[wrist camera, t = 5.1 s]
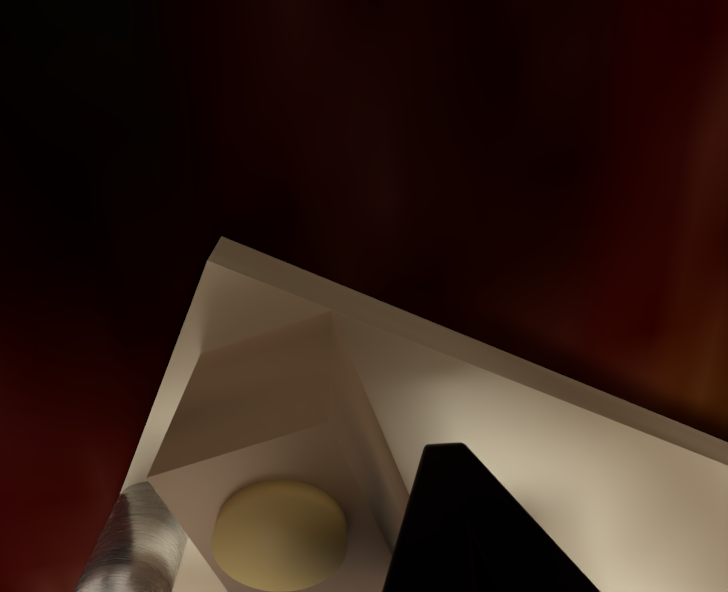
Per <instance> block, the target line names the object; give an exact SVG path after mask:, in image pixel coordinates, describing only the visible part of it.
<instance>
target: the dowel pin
mask: <svg viewBox="0 0 728 592" xmlns="http://www.w3.org/2000/svg"><path fill="white" fill-rule="evenodd" d="M187 540H188V535H187V534H186V532H185V531H184V530H183V528H182V527H181V525H180V524H179V523H178V521H177V520H176V518H175V517H174V516H173V514H172V513H171V512H170V510H169V509H168V507H167V506H166V505H165V503H164V502H163V500H162V499H161V498H160V496H159V495H158V493H157V492H156V491H155V489H154V488H153V486H152V485H151V484H150V482H149V481H146V482H140V483H136V484H134V485H131V486H129V487H127V488H126V489H125V490H124V491H123V492H122V493H121V494H120V495H119V497H118V499H117V501H116V503H115V505H114V507H113V510H112V512H111V514H110V516H109V518H108V520H107V522H106V524H105V526H104V529H103V531H102V533H101V535H100V537H99V539H98V541H97V543H96V545H95V547H94V550H93V552H92V554H91V556H90V558H89V560H88V562H87V564H86V566H85V569H84V571H83V573H82V575H81V577H80V579H79V581H78V583H77V585H76V588H75V590H74V592H172V591H173V588H174V584H175V581H176V578H177V574H178V571H179V567H180V564H181V561H182V557H183V554H184V551H185V547H186V544H187Z"/></svg>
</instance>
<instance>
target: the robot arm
mask: <svg viewBox="0 0 728 592" xmlns="http://www.w3.org/2000/svg"><path fill="white" fill-rule="evenodd" d="M382 592H601V591H600V590H599V589H598V588H597V587H596V586H595V585H594V584H593V583H592V582H591V581H590V579H589V578H588V577H587V576H586V575H585V574H584V573H583V572H582V571H581V570H580V569H579V567H578V566H577V565H576V564H575V563H574V562H573V561H572V560H571V559H570V558H569V557H568V555H567V554H566V553H565V552H564V551H563V550H562V549H561V548H560V547H559V546H558V545H557V544H556V542H555V541H554V540H553V539H552V538H551V537H550V536H549V535H548V534H547V533H546V532H545V530H544V529H543V528H542V527H541V526H540V525H539V524H538V523H537V522H536V521H535V520H534V518H533V517H532V516H531V515H530V514H529V513H528V512H527V511H526V510H525V509H524V508H523V506H522V505H521V504H520V503H519V502H518V501H517V500H516V499H515V498H514V497H513V496H512V494H511V493H510V492H509V491H508V490H507V489H506V488H505V487H504V486H503V485H502V484H501V482H500V481H499V480H498V479H497V478H496V477H495V476H494V475H493V474H492V473H491V472H490V471H489V469H488V468H487V467H486V466H485V465H484V464H483V463H482V462H481V461H480V460H479V459H478V457H477V456H476V455H475V454H474V453H473V452H472V451H471V450H470V449H469V448H468V447H467V445H465V444H464V443H462V442H454V443H436V444H426V445H425V446H424V448H423V451H422V455H421V458H420V462H419V465H418V469H417V472H416V476H415V479H414V483H413V486H412V489H411V493H410V496H409V500H408V503H407V507H406V510H405V514H404V517H403V520H402V524H401V527H400V531H399V534H398V538H397V541H396V545H395V548H394V552H393V555H392V558H391V562H390V565H389V569H388V572H387V576H386V579H385V583H384V586H383V590H382Z"/></svg>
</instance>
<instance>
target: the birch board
mask: <svg viewBox="0 0 728 592" xmlns="http://www.w3.org/2000/svg"><path fill="white" fill-rule="evenodd" d="M329 311H331V312H332V314H333V316H334V319H335V321H336V323H337V326H338V328H339V330H340V333H341V335H342V338H343V340H344V342H345V345H346V347H347V349H348V352H349V354H350V356H351V359H352V361H353V363H354V366H355V368H356V371H357V373H358V375H359V378H360V380H361V382H362V385H363V387H364V389H365V392H366V394H367V397H368V399H369V401H370V404H371V406H372V408H373V411H374V413H375V415H376V418H377V420H378V422H379V425H380V427H381V430H382V432H383V434H384V437H385V439H386V441H387V444H388V446H389V448H390V451H391V453H392V456H393V458H394V460H395V463H396V465H397V467H398V470H399V472H400V474H401V477H402V479H403V481H404V484H405V486H406V489H407V491H408V493H409V496H410V493H411V489H412V486H413V483H414V479H415V476H416V472H417V469H418V465H419V462H420V458H421V455H422V451H423V448H424V446H425V445H426V444H436V443H454V442H462V443H464V444H465V445H467V447H468V448H469V449H470V450H471V451H472V452H473V453H474V454H475V455H476V456H477V457H478V459H479V460H480V461H481V462H482V463H483V464H484V465H485V466H486V467H487V468H488V469H489V471H490V472H491V473H492V474H493V475H494V476H495V477H496V478H497V479H498V480H499V481H500V482H501V484H502V485H503V486H504V487H505V488H506V489H507V490H508V491H509V492H510V493H511V494H512V496H513V497H514V498H515V499H516V500H517V501H518V502H519V503H520V504H521V505H522V506H523V508H524V509H525V510H526V511H527V512H528V513H529V514H530V515H531V516H532V517H533V518H534V520H535V521H536V522H537V523H538V524H539V525H540V526H541V527H542V528H543V529H544V530H545V532H546V533H547V534H548V535H549V536H550V537H551V538H552V539H553V540H554V541H555V542H556V544H557V545H558V546H559V547H560V548H561V549H562V550H563V551H564V552H565V553H566V554H567V555H568V557H569V558H570V559H571V560H572V561H573V562H574V563H575V564H576V565H577V566H578V567H579V569H580V570H581V571H582V572H583V573H584V574H585V575H586V576H587V577H588V578H589V579H590V581H591V582H592V583H593V584H594V585H595V586H596V587H597V588H598V589H599V590H600V591H601V592H728V442H726V441H723V440H721V439H718V438H716V437H713V436H711V435H708V434H706V433H704V432H701V431H699V430H696V429H694V428H691V427H689V426H686V425H684V424H681V423H679V422H677V421H674V420H672V419H669V418H667V417H664V416H662V415H659V414H657V413H654V412H652V411H650V410H647V409H645V408H642V407H640V406H637V405H635V404H632V403H630V402H627V401H625V400H623V399H620V398H618V397H615V396H613V395H610V394H608V393H605V392H603V391H600V390H598V389H595V388H593V387H591V386H588V385H586V384H583V383H581V382H578V381H576V380H573V379H571V378H568V377H566V376H564V375H561V374H559V373H556V372H554V371H551V370H549V369H546V368H544V367H541V366H539V365H537V364H534V363H532V362H529V361H527V360H524V359H522V358H519V357H517V356H514V355H512V354H510V353H507V352H505V351H502V350H500V349H497V348H495V347H492V346H490V345H487V344H485V343H483V342H480V341H478V340H475V339H473V338H470V337H468V336H465V335H463V334H460V333H458V332H456V331H453V330H451V329H448V328H446V327H443V326H441V325H438V324H436V323H433V322H431V321H429V320H426V319H424V318H421V317H419V316H416V315H414V314H411V313H409V312H406V311H404V310H402V309H399V308H397V307H394V306H392V305H389V304H387V303H384V302H382V301H379V300H377V299H375V298H372V297H370V296H367V295H365V294H362V293H360V292H357V291H355V290H352V289H350V288H348V287H345V286H343V285H340V284H338V283H335V282H333V281H330V280H328V279H325V278H323V277H321V276H318V275H316V274H313V273H311V272H308V271H306V270H303V269H301V268H298V267H296V266H294V265H291V264H289V263H286V262H284V261H281V260H279V259H276V258H274V257H271V256H269V255H267V254H264V253H262V252H259V251H257V250H254V249H252V248H249V247H247V246H244V245H242V244H240V243H237V242H235V241H232V240H230V239H227V238H225V237H222V236H221V238H220V240H219V241H218V243H217V245H216V246H215V248H214V250H213V252H212V253H211V255H210V257H209V258H208V260H207V263H206V265H205V268H204V271H203V273H202V276H201V279H200V281H199V284H198V287H197V289H196V292H195V295H194V297H193V300H192V303H191V305H190V308H189V311H188V313H187V316H186V319H185V322H184V324H183V327H182V330H181V332H180V335H179V338H178V340H177V343H176V346H175V348H174V351H173V354H172V356H171V359H170V362H169V364H168V367H167V370H166V372H165V375H164V378H163V380H162V383H161V386H160V388H159V391H158V394H157V396H156V399H155V402H154V404H153V407H152V410H151V412H150V415H149V418H148V420H147V423H146V426H145V428H144V431H143V434H142V436H141V439H140V442H139V444H138V447H137V450H136V452H135V455H134V458H133V460H132V463H131V466H130V468H129V471H128V474H127V476H126V479H125V482H124V484H123V487H122V490H121V492H120V494H121V493H122V492H123V491H124V490H125V489H126V488H127V487H129V486H131V485H134V484H136V483H140V482H146V481H148V479H147V475H148V473H149V471H150V469H151V466H152V464H153V462H154V459H155V457H156V455H157V453H158V450H159V448H160V446H161V443H162V441H163V439H164V436H165V434H166V432H167V430H168V427H169V425H170V423H171V420H172V418H173V416H174V414H175V411H176V409H177V407H178V404H179V402H180V400H181V397H182V395H183V393H184V391H185V388H186V386H187V384H188V381H189V379H190V377H191V375H192V372H193V370H194V368H195V365H196V363H197V361H198V358H199V356H200V354H202V353H205V352H208V351H211V350H214V349H217V348H220V347H223V346H226V345H229V344H232V343H235V342H238V341H241V340H244V339H247V338H250V337H253V336H256V335H259V334H262V333H265V332H268V331H271V330H274V329H277V328H280V327H283V326H287V325H290V324H293V323H296V322H299V321H302V320H305V319H308V318H311V317H314V316H317V315H320V314H323V313H326V312H329ZM172 592H228V591H227V590H226V588H225V587H224V586H223V584H222V583H221V581H220V580H219V579H218V577H217V576H216V574H215V573H214V572H213V570H212V569H211V567H210V566H209V565H208V563H207V562H206V560H205V559H204V558H203V556H202V555H201V553H200V552H199V551H198V549H197V548H196V546H195V545H194V544H193V542H192V541H191V539H190V538H189V537H188V540H187V544H186V547H185V551H184V554H183V557H182V561H181V564H180V567H179V571H178V574H177V578H176V581H175V584H174V588H173V591H172Z"/></svg>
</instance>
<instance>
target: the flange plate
mask: <svg viewBox="0 0 728 592" xmlns="http://www.w3.org/2000/svg"><path fill="white" fill-rule="evenodd" d="M147 479H148V481H149V482H150V484H151V485H152V486H153V488H154V489H155V491H156V492H157V493H158V495H159V496H160V498H161V499H162V500H163V502H164V503H165V505H166V506H167V507H168V509H169V510H170V512H171V513H172V514H173V516H174V517H175V518H176V520H177V521H178V523H179V524H180V525H181V527H182V528H183V530H184V531H185V532H186V534H187V535H188V537H189V538H190V539H191V541H192V542H193V544H194V545H195V546H196V548H197V549H198V551H199V552H200V553H201V555H202V556H203V558H204V559H205V560H206V562H207V563H208V565H209V566H210V567H211V569H212V570H213V572H214V573H215V574H216V576H217V577H218V579H219V580H220V581H221V583H222V584H223V586H224V587H225V588H226V590H227V591H228V592H382V590H383V586H384V583H385V579H386V576H387V572H388V569H389V565H390V562H391V558H392V555H393V552H394V548H395V545H396V541H397V538H398V534H399V531H400V527H401V524H402V520H403V517H404V514H405V510H406V507H407V503H408V500H409V493H408V491H407V489H406V486H405V484H404V481H403V479H402V477H401V474H400V472H399V470H398V467H397V465H396V463H395V460H394V458H393V456H392V453H391V451H390V448H389V446H388V444H387V441H386V439H385V437H384V434H383V432H382V430H381V427H380V425H379V422H378V420H377V418H376V415H375V413H374V411H373V408H372V406H371V404H370V401H369V399H368V397H367V394H366V392H365V389H364V387H363V385H362V382H361V380H360V378H359V375H358V373H357V371H356V368H355V366H354V363H353V361H352V359H351V356H350V354H349V352H348V349H347V347H346V345H345V342H344V340H343V338H342V335H341V333H340V330H339V328H338V326H337V323H336V321H335V319H334V316H333V314H332V312H331V311H329V312H326V313H323V314H320V315H317V316H314V317H311V318H308V319H305V320H302V321H299V322H296V323H293V324H290V325H287V326H283V327H280V328H277V329H274V330H271V331H268V332H265V333H262V334H259V335H256V336H253V337H250V338H247V339H244V340H241V341H238V342H235V343H232V344H229V345H226V346H223V347H220V348H217V349H214V350H211V351H208V352H205V353H202V354H200V356H199V358H198V361H197V363H196V365H195V368H194V370H193V372H192V375H191V377H190V379H189V381H188V384H187V386H186V388H185V391H184V393H183V395H182V397H181V400H180V402H179V404H178V407H177V409H176V411H175V414H174V416H173V418H172V420H171V423H170V425H169V427H168V430H167V432H166V434H165V436H164V439H163V441H162V443H161V446H160V448H159V450H158V453H157V455H156V457H155V459H154V462H153V464H152V466H151V469H150V471H149V473H148V475H147Z"/></svg>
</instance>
